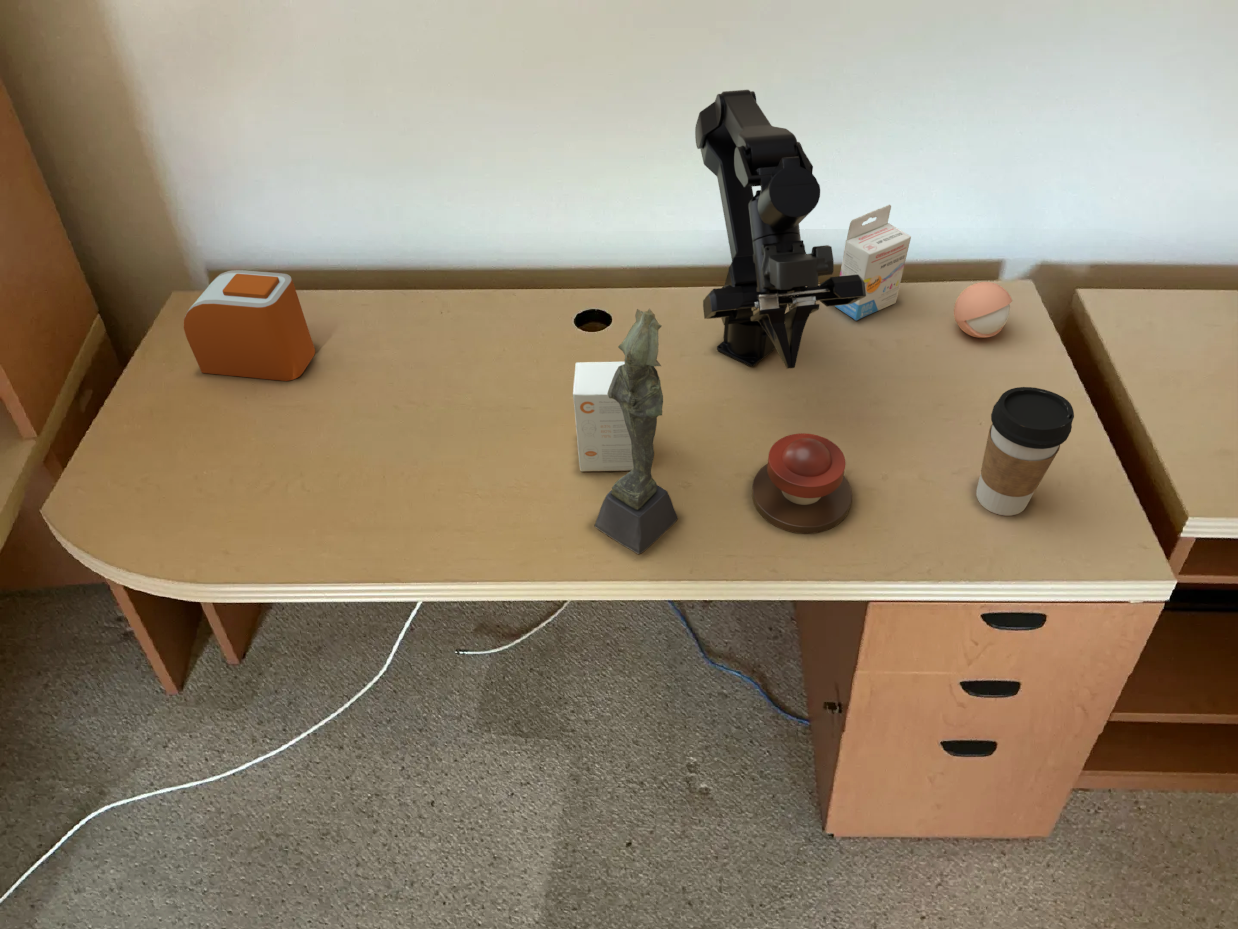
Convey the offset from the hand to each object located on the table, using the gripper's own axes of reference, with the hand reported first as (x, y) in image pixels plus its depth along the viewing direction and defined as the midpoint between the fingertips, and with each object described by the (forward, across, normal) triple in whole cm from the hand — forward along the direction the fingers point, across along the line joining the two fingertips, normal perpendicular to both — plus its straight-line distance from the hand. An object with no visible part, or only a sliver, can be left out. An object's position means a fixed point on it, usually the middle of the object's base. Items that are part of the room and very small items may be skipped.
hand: (790, 368), depth 113 cm
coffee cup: (+19, +24, -1) cm, 30 cm away
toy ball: (-4, +34, +22) cm, 41 cm away
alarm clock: (-12, -70, +30) cm, 77 cm away
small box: (+8, -22, +10) cm, 26 cm away
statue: (+17, -21, +1) cm, 26 cm away
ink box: (-10, +20, +28) cm, 36 cm away
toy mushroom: (+16, 0, +2) cm, 16 cm away
